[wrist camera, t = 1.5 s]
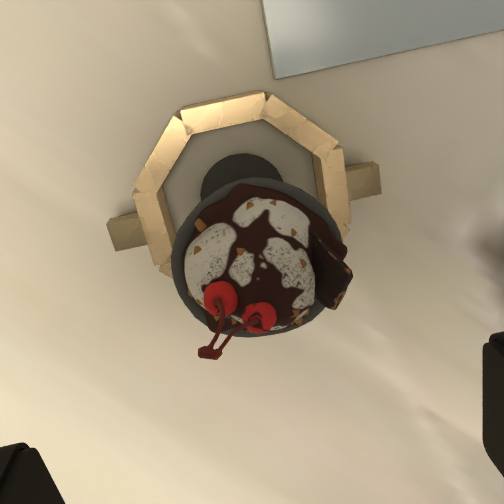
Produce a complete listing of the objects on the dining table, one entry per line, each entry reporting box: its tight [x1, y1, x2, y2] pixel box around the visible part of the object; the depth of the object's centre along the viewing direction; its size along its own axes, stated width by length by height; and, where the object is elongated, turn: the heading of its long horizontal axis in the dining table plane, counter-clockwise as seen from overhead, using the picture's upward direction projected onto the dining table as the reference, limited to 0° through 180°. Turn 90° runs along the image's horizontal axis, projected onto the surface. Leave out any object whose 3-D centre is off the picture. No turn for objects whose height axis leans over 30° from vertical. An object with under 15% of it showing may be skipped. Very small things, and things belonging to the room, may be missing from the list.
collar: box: [106, 90, 381, 278], centre depth 26 cm, size 15×11×2 cm
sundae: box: [171, 154, 353, 360], centre depth 20 cm, size 7×7×15 cm
